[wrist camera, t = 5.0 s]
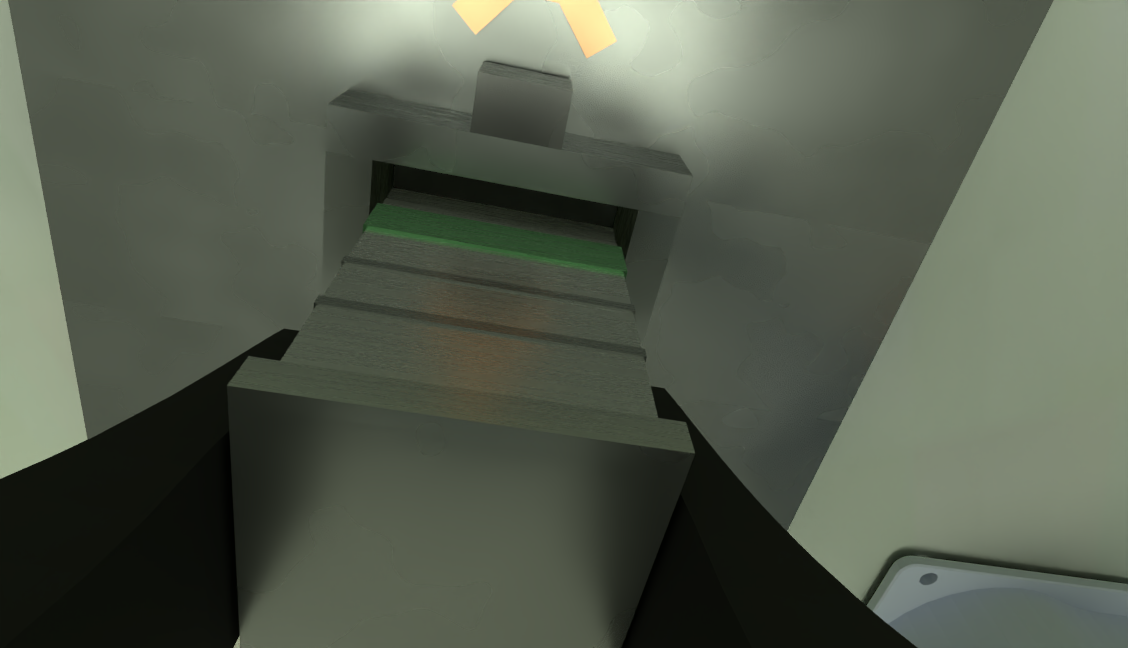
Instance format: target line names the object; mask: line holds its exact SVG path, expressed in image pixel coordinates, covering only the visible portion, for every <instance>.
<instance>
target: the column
mask: <svg viewBox="0 0 1128 648" xmlns="http://www.w3.org/2000/svg"><path fill="white" fill-rule="evenodd" d="M627 272H628V271H627V267H626V263H625V259H624V256H623V252H622V248H621V247H618V246H617V244H616V240H615V235H614V231H613V228H610V227H605V226H599V225H594V224H588V223H583V222H578V221H572V220H567V219H561V218H556V217H550V216H545V215H540V214H534V213H529V212H523V211H518V210H512V209H507V208H502V207H496V206H491V205H485V204H480V203H474V202H469V201H464V200H458V199H453V198H447V197H442V196H436V195H431V194H426V193H420V192H415V191H409V190H404V189H398V188H392V190H391V191H390V193H389V194H388V196H387V197H386V199H385V200H384V202H383V204H381V203H377V205H376V206H375V208H374V209H373V211H372V212H371V214H370V215H369V217H368V218H367V220H366V221H365V223H364V224H363V234H362V236H361V237H360V239H359V240H358V242H357V244H356V245H355V247H354V248H353V250H352V251H351V253H350V254H349V256H344V258H343V259H342V261H341V268H340V270H339V271H338V273H337V274H336V276H335V277H334V279H333V281H332V282H331V284H330V285H329V287H328V288H327V290H326V291H325V293H324V294H323V296H321V295H319V296H318V297H317V299H316V300H315V302H314V310H313V311H312V313H311V314H310V316H309V317H308V319H307V321H306V322H305V324H304V325H303V327H302V328H301V330H300V331H299V333H298V334H297V336H296V337H295V339H294V341H293V342H292V344H291V345H290V347H289V348H288V350H287V351H286V353H285V354H284V356H283V357H282V359H281V361H278V360H271V359H265V358H258V357H252V356H248V358H247V359H246V360H245V362H244V363H243V364H242V366H241V367H240V369H239V370H238V371H237V373H236V374H235V375H234V377H233V378H232V379H231V381H230V382H229V383H228V385H227V395H228V415H229V435H230V454H231V474H232V494H233V513H234V533H235V552H236V572H237V592H238V611H239V631H240V648H621V647H622V645H623V642H624V639H625V637H626V634H627V632H628V629H629V626H630V624H631V621H632V618H633V616H634V613H635V611H636V608H637V605H638V603H639V600H640V597H641V595H642V592H643V590H644V587H645V584H646V582H647V579H648V576H649V574H650V571H651V569H652V566H653V563H654V561H655V558H656V555H657V553H658V550H659V548H660V545H661V542H662V540H663V537H664V534H665V532H666V529H667V527H668V524H669V521H670V519H671V516H672V513H673V511H674V508H675V506H676V503H677V500H678V498H679V495H680V492H681V490H682V487H683V485H684V482H685V479H686V477H687V474H688V471H689V469H690V466H691V464H692V461H693V458H694V456H695V451H694V448H693V444H692V441H691V438H690V434H689V431H688V428H687V424H686V422H681V421H675V420H668V419H662V418H658V415H657V410H656V406H655V402H654V398H653V394H652V390H651V385H650V381H649V377H648V373H647V369H646V365H645V362H646V358H647V355H646V351H645V348H641V344H640V340H639V335H638V331H637V327H636V323H635V319H634V316H635V312H636V311H635V307H634V305H632V304H631V302H630V298H629V294H628V290H627V285H626V281H625V279H626V276H627Z"/></svg>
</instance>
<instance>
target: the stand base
mask: <svg viewBox="0 0 1128 648" xmlns="http://www.w3.org/2000/svg"><path fill="white" fill-rule="evenodd" d="M8 2H9V7H10V13H11V18H12V24H13V29H14V35H15V40H16V46H17V51H18V57H19V62H20V68H21V73H22V79H23V85H24V90H25V96H26V101H27V107H28V112H29V118H30V123H31V129H32V134H33V140H34V145H35V151H36V156H37V162H38V167H39V173H40V178H41V184H42V189H43V195H44V200H45V206H46V212H47V217H48V223H49V228H50V234H51V239H52V245H53V250H54V256H55V261H56V267H57V272H58V278H59V283H60V289H61V294H62V300H63V305H64V311H65V316H66V322H67V328H68V333H69V339H70V344H71V350H72V355H73V361H74V366H75V372H76V377H77V383H78V388H79V394H80V399H81V405H82V410H83V416H84V421H85V427H86V432H87V438H88V439H90V438H92V437H94V436H96V435H98V434H100V433H102V432H104V431H105V430H107V429H109V428H111V427H113V426H115V425H117V424H119V423H121V422H122V421H124V420H126V419H128V418H130V417H132V416H134V415H136V414H138V413H140V412H141V411H143V410H145V409H147V408H149V407H151V406H153V405H155V404H157V403H158V402H160V401H162V400H164V399H166V398H168V397H170V396H171V395H173V394H175V393H177V392H178V391H180V390H182V389H183V388H185V387H187V386H189V385H190V384H192V383H194V382H195V381H197V380H199V379H200V378H202V377H204V376H205V375H207V374H209V373H211V372H212V371H214V370H216V369H217V368H219V367H221V366H222V365H224V364H226V363H227V362H229V361H231V360H232V359H234V358H236V357H237V356H239V355H240V354H242V353H244V352H245V351H247V350H249V349H250V348H252V347H253V346H255V345H257V344H258V343H260V342H262V341H263V340H265V339H266V338H268V337H270V336H272V335H273V334H275V333H277V332H279V331H280V330H282V329H284V328H285V329H291V330H298V331H300V330H301V328H302V327H303V325H304V324H305V322H306V321H307V319H308V317H309V316H310V314H311V313H312V311H313V310H314V302H315V300H316V299H317V297H318V296H319V295H321V296H323V294H324V293H325V291H326V290H327V288H328V287H329V285H330V284H331V282H332V281H333V279H334V277H335V276H336V274H337V273H338V271H339V270H340V268H341V261H342V259H343V258H344V256H349V254H350V253H351V251H352V250H353V248H354V247H355V245H356V244H357V242H358V240H359V239H360V237H361V236H362V234H363V224H364V223H365V221H366V220H367V218H368V217H369V215H370V214H371V212H372V211H373V209H374V208H375V206H376V205H377V203H381V204H383V202H384V200H385V199H386V197H387V196H388V194H389V193H390V191H391V190H392V188H393V176H394V164H397V165H402V166H408V167H413V168H418V169H424V170H429V171H434V172H439V173H445V174H450V175H455V176H461V177H466V178H471V179H477V180H482V181H487V182H493V183H498V184H503V185H509V186H514V187H519V188H524V189H530V190H535V191H540V192H546V193H551V194H556V195H562V196H567V197H572V198H578V199H583V200H588V201H593V202H599V203H604V204H609V205H615V206H618V209H617V213H616V217H615V221H614V225H613V231H614V235H615V240H616V244H617V246H618V247H621V248H622V252H623V256H624V259H625V263H626V267H627V271H628V272H627V276H626V279H625V281H626V285H627V290H628V294H629V298H630V302H631V304H632V305H634V307H635V311H636V312H635V316H634V319H635V323H636V327H637V331H638V335H639V340H640V344H641V348H645V351H646V355H647V358H646V362H645V365H646V369H647V373H648V377H649V381H650V385H651V386H654V387H660V388H665V389H666V391H667V392H668V393H669V394H670V395H671V396H672V398H673V399H674V400H675V401H676V403H677V404H678V405H679V406H680V407H681V409H682V410H683V411H684V413H685V414H686V415H687V416H688V418H689V419H690V420H691V421H692V423H693V424H694V425H695V426H696V428H697V429H698V430H699V431H700V433H701V434H702V435H703V436H704V438H705V439H706V440H707V441H708V443H709V444H710V445H711V446H712V448H713V449H714V450H715V451H716V452H717V454H718V455H719V456H720V457H721V458H722V460H723V461H724V462H725V463H726V464H727V466H728V467H729V468H730V469H731V470H732V472H733V473H734V474H735V475H736V476H737V477H738V479H739V480H740V481H741V482H742V483H743V484H744V486H745V487H746V488H747V489H748V490H749V491H750V492H751V493H752V495H753V496H754V497H755V498H756V499H757V500H758V501H759V502H760V503H761V505H762V506H763V507H764V508H765V509H766V510H767V511H768V512H769V513H770V514H771V515H772V516H773V517H774V518H775V519H776V520H777V521H778V523H779V524H780V525H781V526H782V527H783V528H784V529H785V530H786V531H787V530H788V528H789V526H790V524H791V522H792V520H793V518H794V516H795V514H796V512H797V510H798V508H799V506H800V504H801V502H802V500H803V498H804V496H805V494H806V492H807V490H808V488H809V486H810V484H811V482H812V480H813V478H814V476H815V474H816V472H817V470H818V468H819V466H820V464H821V462H822V460H823V458H824V456H825V454H826V452H827V450H828V448H829V446H830V444H831V442H832V440H833V438H834V436H835V434H836V432H837V430H838V428H839V426H840V424H841V422H842V420H843V418H844V416H845V414H846V412H847V410H848V408H849V406H850V404H851V402H852V400H853V398H854V396H855V394H856V392H857V390H858V388H859V386H860V384H861V382H862V380H863V378H864V376H865V374H866V373H867V371H868V369H869V367H870V365H871V363H872V361H873V359H874V357H875V355H876V353H877V351H878V349H879V347H880V345H881V343H882V341H883V339H884V337H885V335H886V333H887V331H888V329H889V327H890V325H891V323H892V321H893V319H894V317H895V315H896V313H897V311H898V309H899V307H900V305H901V303H902V301H903V299H904V297H905V295H906V293H907V291H908V289H909V287H910V285H911V283H912V281H913V279H914V277H915V275H916V273H917V271H918V269H919V267H920V265H921V263H922V261H923V259H924V257H925V255H926V253H927V251H928V249H929V247H930V245H931V243H932V241H933V239H934V237H935V235H936V233H937V231H938V229H939V227H940V225H941V223H942V221H943V219H944V217H945V215H946V213H947V211H948V209H949V207H950V205H951V203H952V201H953V199H954V197H955V195H956V193H957V191H958V189H959V187H960V185H961V183H962V181H963V179H964V177H965V175H966V173H967V171H968V169H969V167H970V165H971V163H972V161H973V159H974V157H975V155H976V153H977V152H978V150H979V148H980V146H981V144H982V142H983V140H984V138H985V136H986V134H987V132H988V130H989V128H990V126H991V124H992V122H993V120H994V118H995V116H996V114H997V112H998V110H999V108H1000V106H1001V104H1002V102H1003V100H1004V98H1005V96H1006V94H1007V92H1008V90H1009V88H1010V86H1011V84H1012V82H1013V80H1014V78H1015V76H1016V74H1017V72H1018V70H1019V68H1020V66H1021V64H1022V62H1023V60H1024V58H1025V56H1026V54H1027V52H1028V50H1029V48H1030V46H1031V44H1032V42H1033V40H1034V38H1035V36H1036V34H1037V32H1038V30H1039V28H1040V26H1041V24H1042V22H1043V20H1044V18H1045V16H1046V14H1047V12H1048V10H1049V8H1050V6H1051V4H1052V2H1053V0H8Z"/></svg>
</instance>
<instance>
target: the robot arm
mask: <svg viewBox="0 0 1128 648" xmlns="http://www.w3.org/2000/svg"><path fill="white" fill-rule="evenodd" d="M298 333H299V331H298V330H291V329H285V328H284V329H282V330H280V331H279V332H277V333H275V334H273V335H272V336H270V337H268V338H266V339H265V340H263V341H262V342H260V343H258V344H257V345H255V346H253V347H252V348H250V349H249V350H247V351H245V352H244V353H242V354H240V355H239V356H237V357H236V358H234V359H232V360H231V361H229V362H227V363H226V364H224V365H222V366H221V367H219V368H217V369H216V370H214V371H212V372H211V373H209V374H207V375H205V376H204V377H202V378H200V379H199V380H197V381H195V382H194V383H192V384H190V385H189V386H187V387H185V388H183V389H182V390H180V391H178V392H177V393H175V394H173V395H171V396H170V397H168V398H166V399H164V400H162V401H160V402H158V403H157V404H155V405H153V406H151V407H149V408H147V409H145V410H143V411H141V412H140V413H138V414H136V415H134V416H132V417H130V418H128V419H126V420H124V421H122V422H121V423H119V424H117V425H115V426H113V427H111V428H109V429H107V430H105V431H104V432H102V433H100V434H98V435H96V436H94V437H92V438H90V439H88V440H86V441H84V442H82V443H80V444H78V445H76V446H73V447H71V448H69V449H67V450H65V451H63V452H61V453H58V454H56V455H54V456H52V457H50V458H48V459H45V460H43V461H41V462H38V463H36V464H34V465H32V466H29V467H27V468H25V469H22V470H20V471H18V472H15V473H13V474H11V475H8V476H6V477H4V478H2V479H0V648H233V647H234V645H235V643H236V641H237V639H238V637H239V635H240V631H239V611H238V592H237V572H236V552H235V533H234V513H233V494H232V474H231V454H230V435H229V415H228V395H227V385H228V383H229V382H230V381H231V379H232V378H233V377H234V375H235V374H236V373H237V371H238V370H239V369H240V367H241V366H242V364H243V363H244V362H245V360H246V359H247V358H248V356H252V357H258V358H265V359H271V360H278V361H281V359H282V357H283V356H284V354H285V353H286V351H287V350H288V348H289V347H290V345H291V344H292V342H293V341H294V339H295V337H296V336H297V334H298ZM651 390H652V394H653V398H654V402H655V406H656V410H657V415H658V418H662V419H668V420H675V421H681V422H686V424H687V428H688V431H689V434H690V438H691V441H692V444H693V448H694V451H695V456H694V458H693V461H692V464H691V466H690V469H689V471H688V474H687V477H686V479H685V482H684V485H683V487H682V490H681V492H680V495H679V498H678V500H677V503H676V506H675V508H674V511H673V513H672V516H671V519H670V521H669V524H668V527H667V529H666V532H665V534H664V537H663V540H662V542H661V545H660V548H659V550H658V553H657V555H656V558H655V561H654V563H653V566H652V569H651V571H650V574H649V576H648V579H647V582H646V584H645V587H644V590H643V592H642V595H641V597H640V600H639V603H638V605H637V608H636V611H635V613H634V616H633V618H632V621H631V624H630V626H629V629H628V632H627V634H626V637H625V639H624V642H623V645H622V647H621V648H1128V584H1124V583H1116V582H1108V581H1101V580H1093V579H1086V578H1078V577H1071V576H1063V575H1056V574H1048V573H1040V572H1033V571H1025V570H1018V569H1010V568H1003V567H995V566H988V565H980V564H972V563H965V562H957V561H950V560H942V559H935V558H927V557H919V556H905V557H901V558H900V559H898V560H896V561H895V562H894V563H893V565H892V566H891V568H890V569H889V571H888V572H887V574H886V576H885V577H884V579H883V580H882V582H881V584H880V585H879V587H878V588H877V590H876V591H875V593H874V595H873V596H872V598H871V599H870V601H869V603H868V604H867V606H866V605H865V604H864V603H862V602H861V601H860V600H859V599H858V598H857V597H856V596H854V595H853V594H852V593H851V592H850V591H849V590H848V589H847V588H846V587H845V586H843V585H842V584H841V583H840V582H839V581H838V580H837V579H836V578H835V577H834V576H833V575H831V574H830V573H829V572H828V571H827V570H826V569H825V568H824V567H823V566H822V565H821V564H819V563H818V562H817V561H816V560H815V559H814V558H813V557H812V556H811V555H810V554H809V553H808V552H807V551H806V550H805V549H804V548H803V547H802V546H801V545H800V544H799V543H798V542H797V541H796V540H795V539H794V538H793V537H792V536H791V535H790V534H789V533H788V532H787V531H786V530H785V529H784V528H783V527H782V526H781V525H780V524H779V523H778V521H777V520H776V519H775V518H774V517H773V516H772V515H771V514H770V513H769V512H768V511H767V510H766V509H765V508H764V507H763V506H762V505H761V503H760V502H759V501H758V500H757V499H756V498H755V497H754V496H753V495H752V493H751V492H750V491H749V490H748V489H747V488H746V487H745V486H744V484H743V483H742V482H741V481H740V480H739V479H738V477H737V476H736V475H735V474H734V473H733V472H732V470H731V469H730V468H729V467H728V466H727V464H726V463H725V462H724V461H723V460H722V458H721V457H720V456H719V455H718V454H717V452H716V451H715V450H714V449H713V448H712V446H711V445H710V444H709V443H708V441H707V440H706V439H705V438H704V436H703V435H702V434H701V433H700V431H699V430H698V429H697V428H696V426H695V425H694V424H693V423H692V421H691V420H690V419H689V418H688V416H687V415H686V414H685V413H684V411H683V410H682V409H681V407H680V406H679V405H678V404H677V403H676V401H675V400H674V399H673V398H672V396H671V395H670V394H669V393H668V392H667V391H666V389H665V388H660V387H654V386H651Z"/></svg>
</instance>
